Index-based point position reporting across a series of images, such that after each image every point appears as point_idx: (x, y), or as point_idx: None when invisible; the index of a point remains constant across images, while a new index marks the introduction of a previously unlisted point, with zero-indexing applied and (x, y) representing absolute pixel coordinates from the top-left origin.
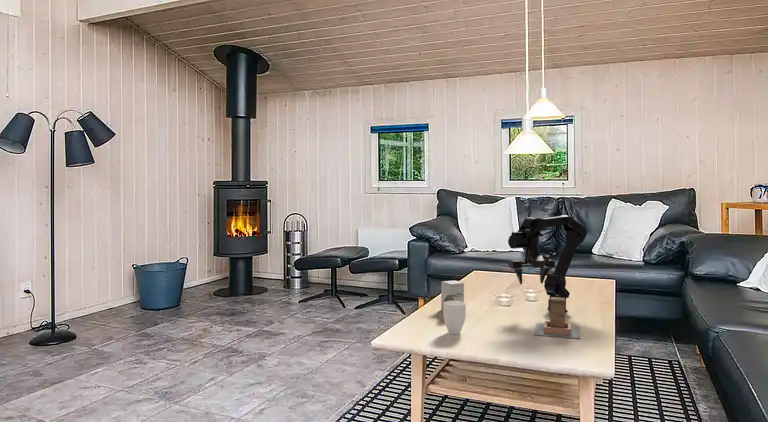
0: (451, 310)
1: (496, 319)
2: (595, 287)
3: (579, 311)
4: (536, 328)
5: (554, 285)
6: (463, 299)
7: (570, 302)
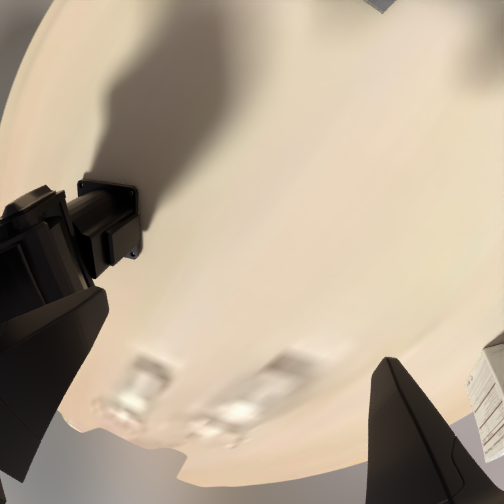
0: None
1: (499, 194)
2: None
3: (46, 174)
4: None
5: (24, 247)
6: (500, 379)
7: None
